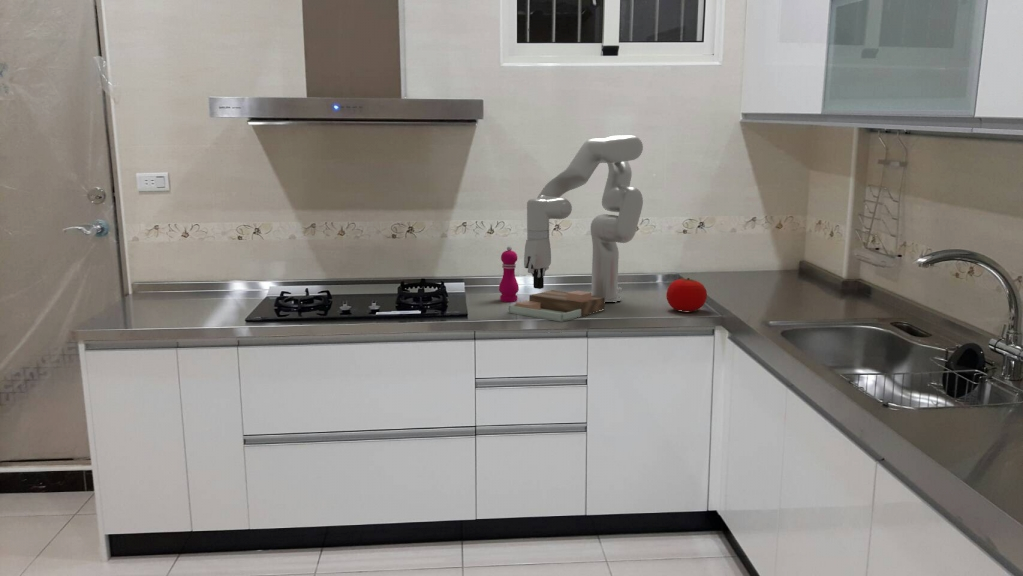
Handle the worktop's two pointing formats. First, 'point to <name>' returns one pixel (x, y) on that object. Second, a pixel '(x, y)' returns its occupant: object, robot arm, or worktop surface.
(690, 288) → the tomato
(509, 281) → the pepper mill
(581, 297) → the tile
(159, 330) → the worktop surface
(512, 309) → the tray
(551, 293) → the board
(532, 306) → the tile
